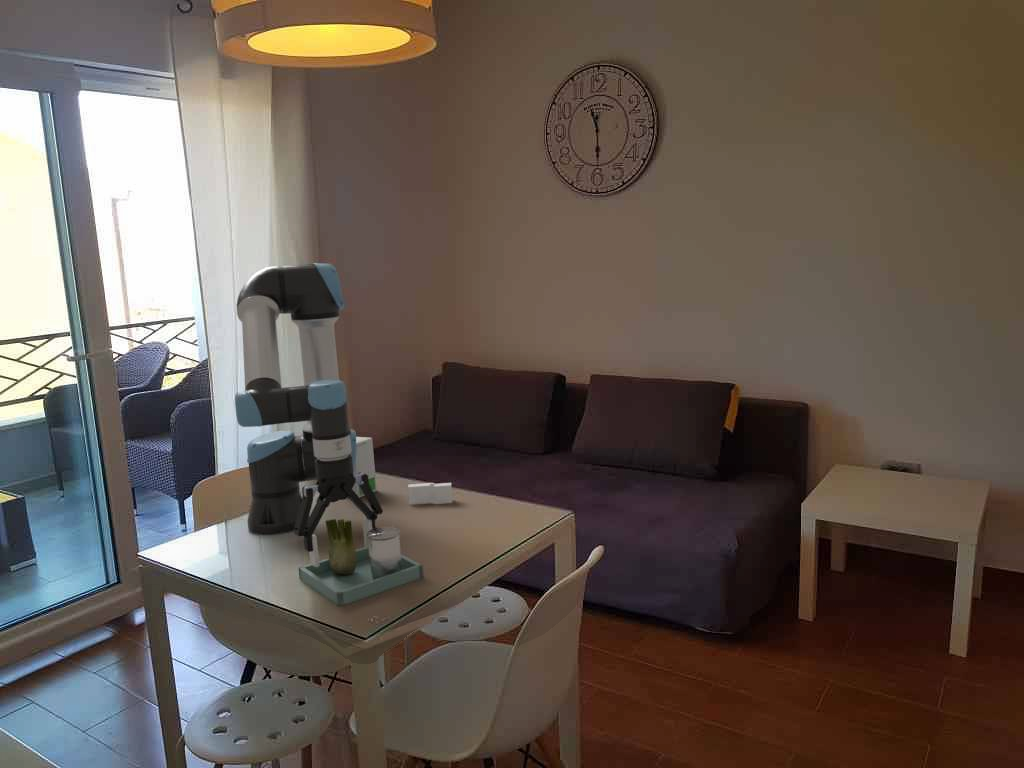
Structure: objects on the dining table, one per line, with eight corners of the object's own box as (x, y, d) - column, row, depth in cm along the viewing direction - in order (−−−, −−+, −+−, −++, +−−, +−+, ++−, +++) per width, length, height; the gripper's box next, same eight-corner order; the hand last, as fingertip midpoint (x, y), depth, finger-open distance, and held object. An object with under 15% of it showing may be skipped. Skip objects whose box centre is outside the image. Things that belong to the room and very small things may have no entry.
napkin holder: (397, 506, 218) (395, 486, 217) (424, 495, 228) (423, 475, 227) (440, 515, 210) (439, 493, 209) (467, 502, 219) (466, 481, 218)
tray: (300, 583, 170) (298, 567, 170) (380, 557, 182) (378, 542, 181) (339, 611, 157) (338, 593, 156) (423, 581, 168) (422, 565, 167)
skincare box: (358, 499, 225) (353, 444, 223) (340, 496, 229) (335, 442, 226) (378, 490, 232) (373, 437, 230) (360, 487, 236) (355, 435, 233)
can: (364, 579, 168) (360, 532, 167) (392, 570, 172) (388, 524, 171) (380, 588, 163) (376, 540, 161) (409, 579, 167) (405, 531, 165)
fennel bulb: (362, 572, 171) (354, 517, 169) (342, 580, 168) (334, 525, 166) (346, 566, 175) (338, 513, 173) (326, 574, 172) (318, 520, 170)
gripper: (284, 472, 157) (295, 578, 161) (393, 447, 172) (401, 545, 175) (269, 465, 163) (280, 568, 167) (376, 441, 177) (384, 536, 181)
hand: (342, 556), depth 171 cm, fingers open, 12 cm apart
